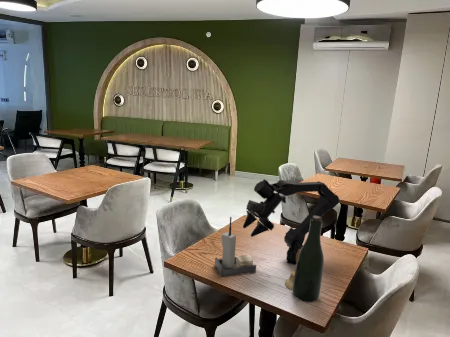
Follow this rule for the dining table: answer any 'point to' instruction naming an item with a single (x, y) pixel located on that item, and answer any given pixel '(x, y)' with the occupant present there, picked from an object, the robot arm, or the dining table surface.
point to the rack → (233, 270)
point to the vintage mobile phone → (228, 249)
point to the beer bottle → (310, 265)
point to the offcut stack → (243, 260)
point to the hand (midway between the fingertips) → (247, 231)
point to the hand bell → (290, 281)
